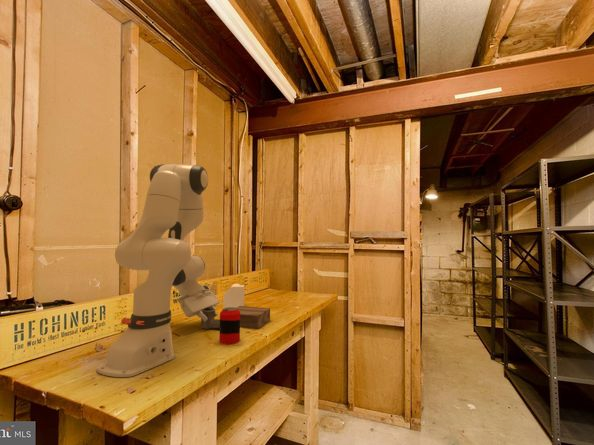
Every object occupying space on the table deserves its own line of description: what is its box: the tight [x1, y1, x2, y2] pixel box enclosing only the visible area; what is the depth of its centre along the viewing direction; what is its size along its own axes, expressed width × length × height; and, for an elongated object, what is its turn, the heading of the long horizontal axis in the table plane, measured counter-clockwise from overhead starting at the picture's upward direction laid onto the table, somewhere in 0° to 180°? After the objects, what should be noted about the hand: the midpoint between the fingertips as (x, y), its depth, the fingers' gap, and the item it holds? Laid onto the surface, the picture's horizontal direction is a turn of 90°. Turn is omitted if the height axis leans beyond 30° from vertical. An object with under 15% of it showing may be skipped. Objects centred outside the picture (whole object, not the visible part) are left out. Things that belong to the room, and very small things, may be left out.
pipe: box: [200, 308, 220, 330], centre depth 125 cm, size 6×13×8 cm, turn 74°
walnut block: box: [236, 305, 271, 330], centre depth 133 cm, size 14×16×6 cm
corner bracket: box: [222, 283, 245, 308], centre depth 165 cm, size 11×11×12 cm
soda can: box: [218, 307, 241, 345], centre depth 110 cm, size 8×8×12 cm
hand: (211, 318), depth 125 cm, fingers open, 5 cm apart
